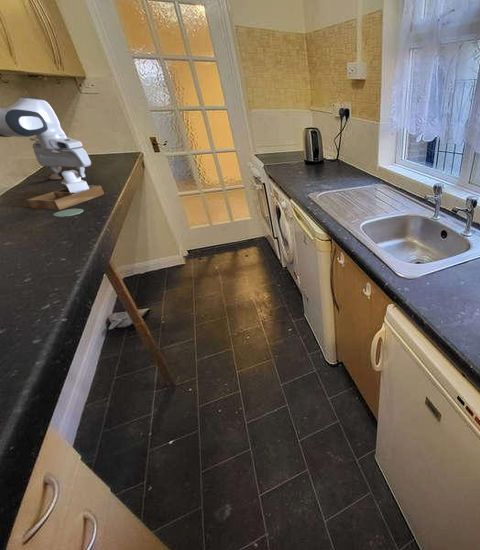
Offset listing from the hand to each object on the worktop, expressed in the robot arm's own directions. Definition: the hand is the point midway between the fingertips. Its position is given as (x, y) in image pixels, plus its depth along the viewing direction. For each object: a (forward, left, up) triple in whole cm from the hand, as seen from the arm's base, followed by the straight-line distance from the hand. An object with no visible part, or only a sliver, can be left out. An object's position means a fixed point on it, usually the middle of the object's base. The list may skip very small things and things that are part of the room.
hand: (72, 177), depth 129 cm
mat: (+12, -20, -9) cm, 25 cm away
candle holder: (-41, +33, -9) cm, 54 cm away
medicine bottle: (0, 0, -9) cm, 9 cm away
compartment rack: (0, -6, -9) cm, 11 cm away
